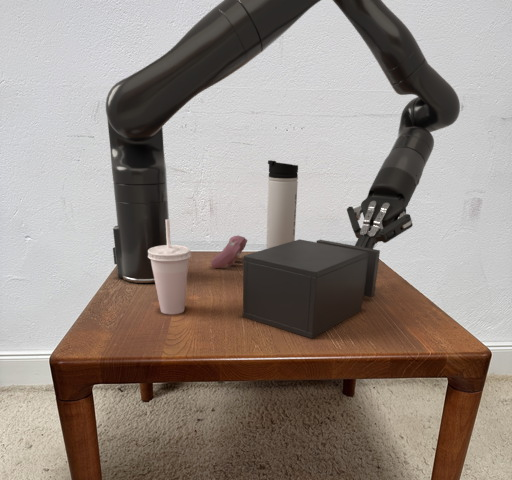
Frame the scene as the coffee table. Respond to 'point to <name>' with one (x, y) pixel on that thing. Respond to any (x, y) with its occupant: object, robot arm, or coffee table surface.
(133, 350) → the coffee table surface
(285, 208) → the travel mug
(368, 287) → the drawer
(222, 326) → the coffee table surface
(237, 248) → the pink rounded figure
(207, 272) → the coffee table surface
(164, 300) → the smoothie
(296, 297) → the dark grey lidded box
